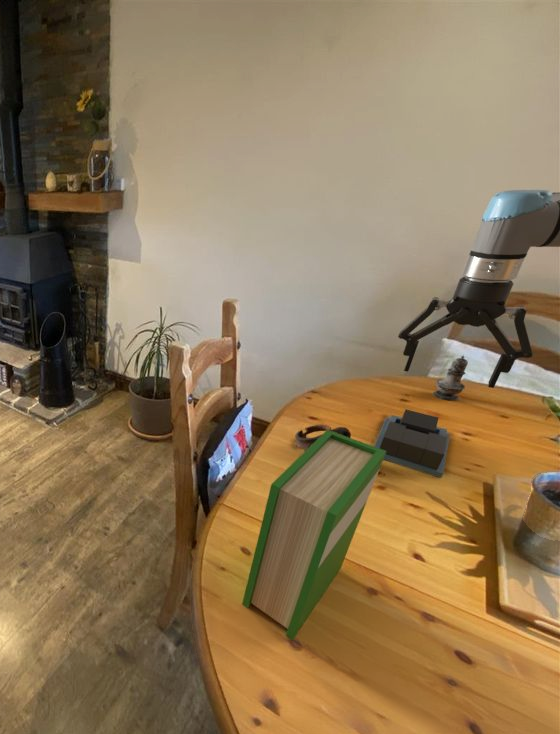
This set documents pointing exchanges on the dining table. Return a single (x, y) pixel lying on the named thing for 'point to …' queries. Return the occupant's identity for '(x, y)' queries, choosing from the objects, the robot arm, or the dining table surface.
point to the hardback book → (310, 527)
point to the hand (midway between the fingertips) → (446, 376)
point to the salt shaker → (452, 381)
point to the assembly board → (413, 447)
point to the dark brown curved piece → (307, 442)
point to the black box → (419, 422)
